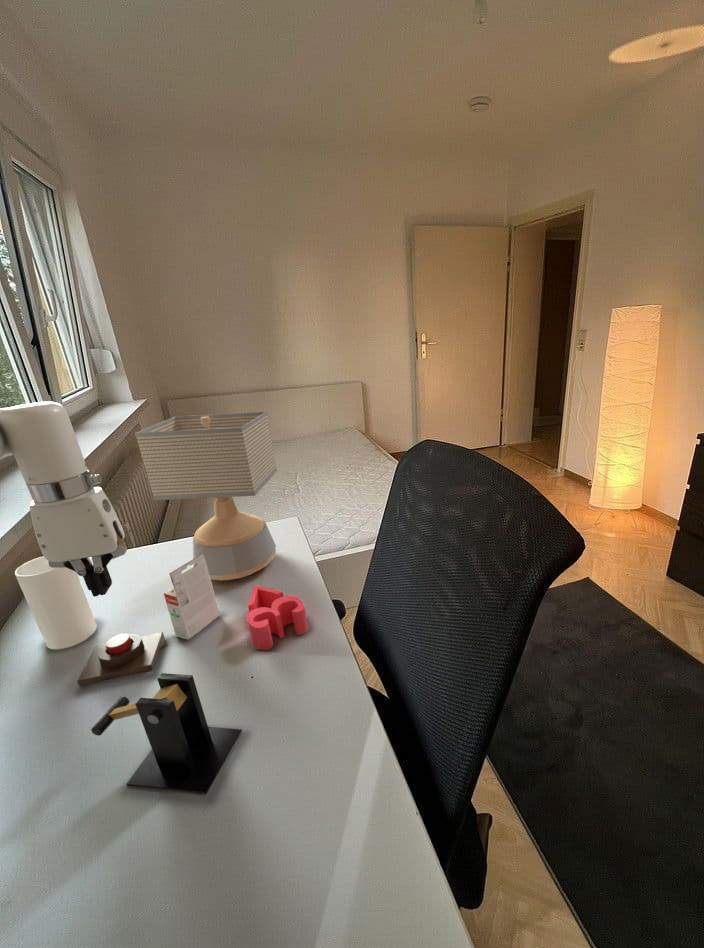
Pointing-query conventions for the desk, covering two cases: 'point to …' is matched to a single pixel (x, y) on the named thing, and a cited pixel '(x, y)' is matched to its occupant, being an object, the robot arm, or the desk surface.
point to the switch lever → (125, 710)
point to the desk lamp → (216, 482)
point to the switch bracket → (181, 741)
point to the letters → (273, 615)
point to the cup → (56, 603)
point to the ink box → (191, 599)
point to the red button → (118, 644)
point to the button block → (123, 660)
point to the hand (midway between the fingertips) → (102, 591)
